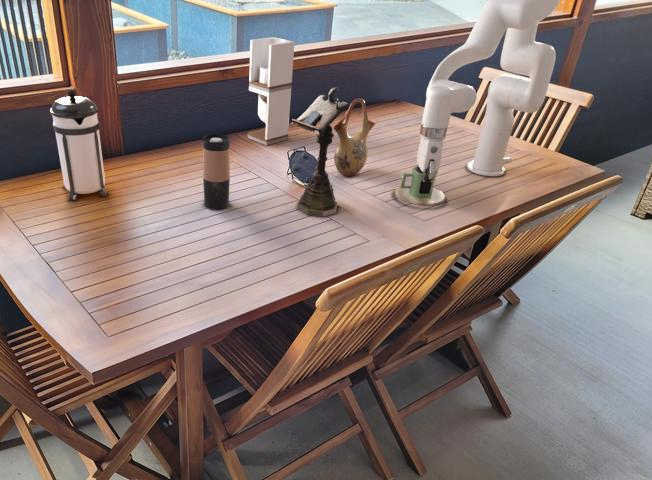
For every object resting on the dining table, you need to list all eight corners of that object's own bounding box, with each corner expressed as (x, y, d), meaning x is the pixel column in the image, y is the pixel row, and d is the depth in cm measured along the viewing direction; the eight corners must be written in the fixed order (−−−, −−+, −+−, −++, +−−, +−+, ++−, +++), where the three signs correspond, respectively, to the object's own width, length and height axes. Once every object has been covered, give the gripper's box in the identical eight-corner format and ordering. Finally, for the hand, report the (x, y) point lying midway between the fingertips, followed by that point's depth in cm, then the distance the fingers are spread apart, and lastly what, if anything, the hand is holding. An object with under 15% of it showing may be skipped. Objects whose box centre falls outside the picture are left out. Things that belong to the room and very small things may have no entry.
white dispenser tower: (268, 132, 226) (273, 36, 207) (287, 139, 220) (294, 41, 200) (247, 137, 220) (250, 39, 200) (266, 145, 213) (271, 44, 194)
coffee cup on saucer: (438, 187, 183) (444, 162, 178) (449, 206, 171) (455, 181, 166) (392, 184, 183) (396, 160, 179) (399, 204, 171) (404, 178, 166)
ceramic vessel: (337, 182, 186) (347, 104, 172) (321, 173, 192) (329, 97, 178) (375, 174, 193) (388, 99, 179) (358, 165, 199) (369, 92, 185)
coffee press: (123, 186, 177) (112, 86, 160) (90, 205, 165) (75, 99, 148) (78, 176, 182) (63, 78, 166) (43, 193, 170) (23, 90, 154)
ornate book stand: (305, 225, 159) (317, 97, 139) (277, 208, 168) (284, 85, 148) (348, 212, 167) (365, 89, 147) (320, 196, 176) (332, 78, 156)
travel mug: (233, 201, 170) (234, 136, 159) (223, 211, 164) (224, 144, 153) (209, 197, 172) (208, 132, 161) (199, 207, 166) (197, 140, 155)
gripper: (453, 141, 159) (439, 200, 169) (439, 123, 173) (427, 178, 183) (426, 140, 159) (414, 199, 169) (414, 121, 173) (403, 177, 183)
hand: (421, 187), depth 176 cm, fingers closed on coffee cup on saucer, 7 cm apart
